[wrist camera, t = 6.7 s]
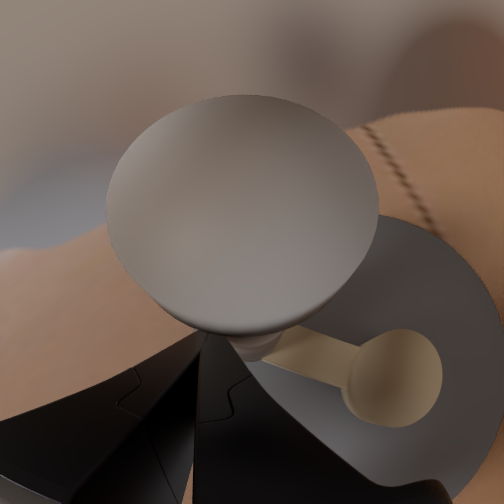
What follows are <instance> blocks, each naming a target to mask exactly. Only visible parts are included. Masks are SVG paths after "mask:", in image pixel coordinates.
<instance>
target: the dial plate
mask: <svg viewBox="0 0 504 504" xmlns="http://www.w3.org/2000/svg"><path fill="white" fill-rule="evenodd" d="M298 325H299V326H302V327H305V328H307V329H310V330H313V331H315V332H318V333H321V334H324V335H327V336H329V337H332V338H335V339H338V340H341V341H343V342H346V343H349V344H352V345H355V346H358V347H359V346H360V345H362V344H363V343H365V342H367V341H369V340H371V339H373V338H375V337H377V336H379V335H381V334H383V333H385V332H388V331H391V330H395V329H408V330H412V331H415V332H418V333H420V334H421V335H423V336H425V337H426V338H427V339H428V340H429V341H430V342H431V343H432V344H433V346H434V347H435V349H436V351H437V352H438V355H439V357H440V360H441V364H442V385H441V390H440V393H439V395H438V398H437V400H436V402H435V403H434V405H433V407H432V408H431V409H430V411H429V412H428V413H427V414H426V415H425V416H424V417H422V418H421V419H420V420H418V421H416V422H415V423H413V424H410V425H408V426H404V427H386V426H381V425H377V424H372V423H368V422H365V421H362V420H360V419H358V418H357V417H356V416H354V415H353V414H352V413H351V412H350V411H349V409H348V408H347V407H346V405H345V403H344V401H343V398H342V394H341V388H338V387H335V386H332V385H329V384H326V383H323V382H320V381H317V380H314V379H311V378H308V377H305V376H302V375H300V374H297V373H294V372H291V371H288V370H286V369H283V368H280V367H278V366H275V365H272V364H270V363H267V362H265V361H262V360H259V361H256V362H244V363H245V364H246V366H247V367H248V369H249V370H250V371H251V373H252V374H253V376H255V378H256V379H257V380H258V382H259V383H260V384H261V386H262V387H263V388H264V389H265V390H266V392H267V393H268V394H269V395H270V396H271V397H272V398H273V399H274V400H275V401H276V402H277V403H278V404H280V405H281V406H282V407H283V408H284V409H285V410H286V411H287V412H288V413H289V414H291V415H292V416H293V417H294V418H295V419H296V420H297V421H299V422H300V423H301V424H302V425H303V426H304V427H305V428H307V429H308V430H309V431H310V432H311V433H312V434H314V435H315V436H316V437H317V438H318V439H319V440H321V441H322V442H323V443H324V444H325V445H327V446H328V447H329V448H330V449H331V450H333V451H334V452H335V453H336V454H338V455H339V456H340V457H341V458H343V459H344V460H345V461H346V462H348V463H349V464H350V465H351V466H353V467H354V468H355V469H356V470H358V471H359V472H360V473H362V474H363V475H364V476H366V477H367V478H368V479H370V480H371V481H373V482H375V483H376V484H379V485H383V486H392V487H393V486H400V485H404V484H408V483H412V482H416V481H420V480H425V479H436V480H439V481H440V482H441V483H442V484H443V486H444V487H445V488H446V490H447V492H448V493H449V496H450V498H451V500H452V499H453V498H455V497H456V496H457V495H458V494H459V493H460V492H461V491H462V489H463V488H464V487H465V486H466V485H467V483H468V482H469V481H470V480H471V479H472V477H473V476H474V475H475V473H476V472H477V470H478V469H479V467H480V466H481V464H482V463H483V461H484V459H485V458H486V456H487V454H488V452H489V450H490V448H491V446H492V444H493V442H494V440H495V437H496V434H497V432H498V429H499V426H500V423H501V420H502V416H503V412H504V331H503V327H502V323H501V320H500V318H499V315H498V312H497V309H496V307H495V305H494V302H493V300H492V298H491V296H490V294H489V292H488V290H487V289H486V287H485V286H484V284H483V283H482V281H481V280H480V278H479V277H478V275H477V274H476V273H475V271H474V270H473V269H472V268H471V267H470V265H469V264H468V263H467V262H466V261H465V260H464V259H463V258H462V257H461V256H460V255H459V254H458V253H457V252H456V251H455V250H454V249H453V248H451V247H450V246H449V245H447V244H446V243H445V242H443V241H442V240H441V239H439V238H438V237H436V236H434V235H433V234H431V233H429V232H427V231H426V230H424V229H422V228H420V227H417V226H415V225H413V224H410V223H408V222H405V221H402V220H399V219H395V218H391V217H388V216H382V215H378V221H377V228H376V231H375V234H374V237H373V240H372V243H371V245H370V247H369V249H368V251H367V253H366V255H365V257H364V259H363V260H362V262H361V263H360V264H359V266H358V267H357V269H356V270H355V271H354V273H353V274H352V275H351V277H350V278H349V279H348V280H347V282H346V283H345V284H344V285H343V287H342V288H341V289H340V290H339V292H338V293H337V294H336V295H335V297H334V298H333V299H332V300H331V301H330V302H329V303H328V304H327V305H326V306H325V307H324V308H323V309H322V310H320V311H319V312H317V313H316V314H315V315H313V316H312V317H310V318H309V319H307V320H306V321H304V322H302V323H300V324H298ZM197 330H198V329H194V332H195V331H197ZM194 332H193V333H194Z"/></svg>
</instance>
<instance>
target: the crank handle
mask: <svg viewBox="0 0 504 504" xmlns="http://www.w3.org/2000/svg"><path fill="white" fill-rule="evenodd" d="M105 214H106V224H107V231H108V235H109V238H110V242H111V245H112V247H113V249H114V252H115V254H116V256H117V258H118V260H119V261H120V263H121V264H122V266H123V267H124V269H125V270H126V272H127V273H128V274H129V275H130V276H131V277H132V279H133V280H134V281H135V282H136V283H137V284H138V285H139V286H140V287H141V288H142V289H143V290H144V291H145V292H146V293H147V294H148V295H149V296H150V297H151V298H152V299H153V300H154V301H155V302H156V303H157V304H158V305H159V306H160V307H161V308H162V309H163V310H165V311H166V312H167V313H169V314H170V315H171V316H173V317H174V318H175V319H177V320H179V321H181V322H182V323H184V324H186V325H188V326H190V327H192V328H195V329H198V330H201V331H203V332H206V333H210V334H215V335H220V336H226V337H227V339H228V340H229V342H230V343H231V345H232V346H233V348H234V349H235V350H236V352H237V353H238V355H239V356H240V357H241V359H242V360H243V362H256V361H259V360H262V361H265V362H267V363H270V364H272V365H275V366H278V367H280V368H283V369H286V370H288V371H291V372H294V373H297V374H300V375H302V376H305V377H308V378H311V379H314V380H317V381H320V382H323V383H326V384H329V385H332V386H335V387H338V388H341V394H342V398H343V401H344V403H345V405H346V407H347V408H348V409H349V411H350V412H351V413H352V414H353V415H354V416H356V417H357V418H358V419H360V420H362V421H365V422H368V423H372V424H377V425H381V426H386V427H404V426H408V425H410V424H413V423H415V422H416V421H418V420H420V419H421V418H422V417H424V416H425V415H426V414H427V413H428V412H429V411H430V409H431V408H432V407H433V405H434V403H435V402H436V400H437V398H438V395H439V393H440V390H441V385H442V364H441V360H440V357H439V355H438V352H437V351H436V349H435V347H434V346H433V344H432V343H431V342H430V341H429V340H428V339H427V338H426V337H425V336H423V335H421V334H420V333H418V332H415V331H412V330H408V329H395V330H391V331H388V332H385V333H383V334H381V335H379V336H377V337H375V338H373V339H371V340H369V341H367V342H365V343H363V344H362V345H360V346H359V347H358V346H355V345H352V344H349V343H346V342H343V341H341V340H338V339H335V338H332V337H329V336H327V335H324V334H321V333H318V332H315V331H313V330H310V329H307V328H305V327H302V326H299V325H298V324H300V323H302V322H304V321H306V320H307V319H309V318H310V317H312V316H313V315H315V314H316V313H317V312H319V311H320V310H322V309H323V308H324V307H325V306H326V305H327V304H328V303H329V302H330V301H331V300H332V299H333V298H334V297H335V295H336V294H337V293H338V292H339V290H340V289H341V288H342V287H343V285H344V284H345V283H346V282H347V280H348V279H349V278H350V277H351V275H352V274H353V273H354V271H355V270H356V269H357V267H358V266H359V264H360V263H361V262H362V260H363V259H364V257H365V255H366V253H367V251H368V249H369V247H370V245H371V243H372V240H373V237H374V234H375V231H376V228H377V221H378V214H379V202H378V192H377V187H376V182H375V179H374V176H373V173H372V170H371V168H370V166H369V164H368V162H367V160H366V158H365V156H364V155H363V153H362V152H361V150H360V149H359V148H358V146H357V145H356V144H355V143H354V141H353V140H352V139H351V138H350V137H349V136H348V135H347V134H346V133H345V132H344V131H343V130H342V129H341V128H339V127H338V126H337V125H335V124H334V123H333V122H331V121H330V120H329V119H327V118H326V117H324V116H322V115H321V114H319V113H317V112H315V111H313V110H311V109H309V108H307V107H304V106H302V105H300V104H297V103H293V102H290V101H287V100H283V99H279V98H273V97H268V96H259V95H230V96H222V97H215V98H211V99H207V100H202V101H199V102H196V103H193V104H190V105H187V106H185V107H182V108H180V109H178V110H176V111H174V112H172V113H170V114H168V115H166V116H165V117H163V118H161V119H160V120H158V121H157V122H156V123H154V124H153V125H152V126H150V127H149V128H148V129H146V130H145V131H144V132H143V133H142V134H141V135H140V136H139V137H138V138H137V139H136V140H135V141H134V142H133V143H132V144H131V146H130V147H129V148H128V149H127V151H126V152H125V154H124V155H123V156H122V158H121V159H120V161H119V163H118V165H117V167H116V169H115V171H114V173H113V177H112V179H111V182H110V184H109V189H108V194H107V198H106V213H105Z"/></svg>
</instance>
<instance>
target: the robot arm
mask: <svg viewBox="0 0 504 504" xmlns="http://www.w3.org/2000/svg"><path fill="white" fill-rule="evenodd" d="M192 463H193V496H192V504H453V503H452V500H451V498H450V496H449V493H448V492H447V490H446V488H445V487H444V486H443V484H442V483H441V482H440V481H439V480H436V479H425V480H420V481H416V482H412V483H408V484H404V485H400V486H393V487H392V486H383V485H379V484H376V483H375V482H373V481H371V480H370V479H368V478H367V477H366V476H364V475H363V474H362V473H360V472H359V471H358V470H356V469H355V468H354V467H353V466H351V465H350V464H349V463H348V462H346V461H345V460H344V459H343V458H341V457H340V456H339V455H338V454H336V453H335V452H334V451H333V450H331V449H330V448H329V447H328V446H327V445H325V444H324V443H323V442H322V441H321V440H319V439H318V438H317V437H316V436H315V435H314V434H312V433H311V432H310V431H309V430H308V429H307V428H305V427H304V426H303V425H302V424H301V423H300V422H299V421H297V420H296V419H295V418H294V417H293V416H292V415H291V414H289V413H288V412H287V411H286V410H285V409H284V408H283V407H282V406H281V405H280V404H278V403H277V402H276V401H275V400H274V399H273V398H272V397H271V396H270V395H269V394H268V393H267V392H266V390H265V389H264V388H263V387H262V386H261V384H260V383H259V382H258V380H257V379H256V378H255V376H253V374H252V373H251V371H250V370H249V369H248V367H247V366H246V364H245V363H244V362H243V360H242V359H241V357H240V356H239V355H238V353H237V352H236V350H235V349H234V348H233V346H232V345H231V343H230V342H229V340H228V339H227V337H226V336H220V335H215V334H210V333H206V332H203V331H201V330H197V331H195V332H194V333H192V334H190V335H188V336H187V337H185V338H183V339H181V340H180V341H178V342H176V343H175V344H173V345H171V346H169V347H168V348H166V349H164V350H162V351H160V352H159V353H157V354H155V355H153V356H152V357H150V358H148V359H146V360H144V361H143V362H141V363H139V364H137V365H135V366H134V367H131V368H129V369H127V370H125V371H124V372H122V373H120V374H118V375H116V376H114V377H112V378H110V379H108V380H105V381H103V382H101V383H99V384H96V385H94V386H92V387H89V388H87V389H84V390H82V391H79V392H77V393H74V394H72V395H69V396H67V397H64V398H62V399H59V400H57V401H54V402H51V403H49V404H46V405H44V406H41V407H38V408H36V409H33V410H30V411H28V412H25V413H22V414H19V415H17V416H14V417H11V418H8V419H5V420H2V421H0V504H181V503H182V500H183V496H184V492H185V489H186V485H187V481H188V478H189V474H190V470H191V467H192Z"/></svg>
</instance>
